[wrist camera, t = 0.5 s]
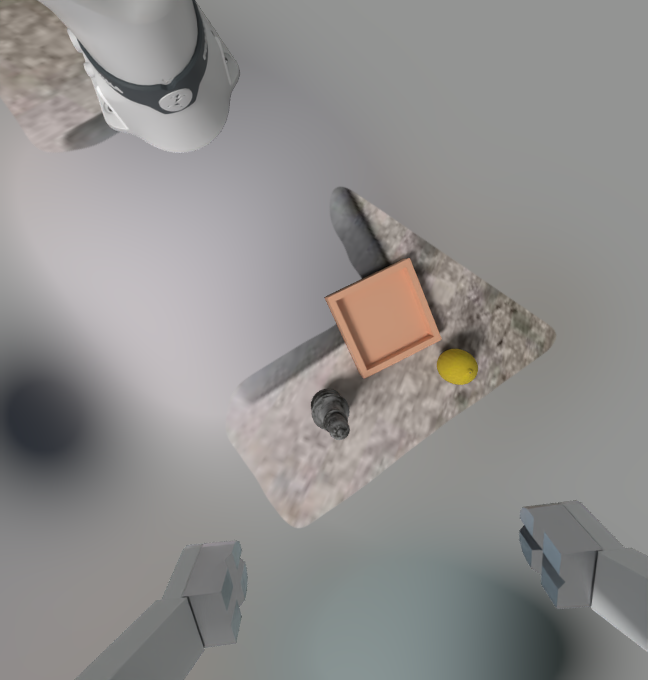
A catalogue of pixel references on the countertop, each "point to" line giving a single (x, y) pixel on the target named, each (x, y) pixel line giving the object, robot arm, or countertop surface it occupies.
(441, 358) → the lemon
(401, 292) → the tray
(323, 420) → the dark grey chess piece
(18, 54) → the countertop surface
